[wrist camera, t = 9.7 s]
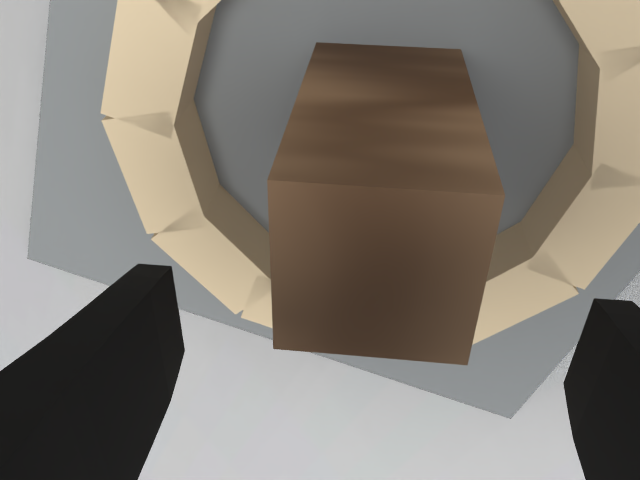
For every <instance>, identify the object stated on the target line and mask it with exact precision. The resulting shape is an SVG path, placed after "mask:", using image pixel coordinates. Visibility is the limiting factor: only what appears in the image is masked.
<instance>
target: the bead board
mask: <svg viewBox="0 0 640 480" xmlns="http://www.w3.org/2000/svg"><path fill="white" fill-rule="evenodd" d="M316 42H320V43H341V44H362V45H383V46H404V47H425V48H446V49H461V51H462V54H463V57H464V61H465V64H466V67H467V71H468V74H469V77H470V80H471V84H472V87H473V90H474V94H475V97H476V100H477V104H478V107H479V110H480V114H481V117H482V120H483V123H484V127H485V130H486V133H487V137H488V140H489V143H490V147H491V150H492V153H493V157H494V160H495V163H496V166H497V170H498V173H499V176H500V180H501V183H502V186H503V190H504V193H505V199H504V204H503V208H502V213H501V217H500V222H499V226H498V231H497V235H496V240H495V244H494V249H493V253H492V258H491V262H490V267H489V271H488V276H487V280H486V285H485V289H484V294H483V298H482V303H481V307H480V312H479V316H478V321H477V325H476V330H475V334H474V339H473V343H472V348H471V352H470V357H469V361H468V365H457V364H445V363H433V362H422V361H410V360H398V359H387V358H375V357H363V356H351V355H340V354H328V353H316V352H311V353H314V354H317V355H320V356H323V357H326V358H329V359H332V360H335V361H338V362H341V363H344V364H347V365H350V366H353V367H356V368H359V369H362V370H365V371H368V372H371V373H374V374H377V375H380V376H383V377H386V378H389V379H392V380H395V381H398V382H401V383H404V384H407V385H410V386H413V387H416V388H419V389H422V390H425V391H428V392H431V393H434V394H437V395H440V396H443V397H446V398H449V399H452V400H455V401H458V402H461V403H464V404H467V405H470V406H473V407H476V408H479V409H482V410H485V411H489V412H492V413H495V414H498V415H501V416H504V417H507V418H510V419H511V418H512V417H513V416H514V415H515V413H516V412H517V411H518V410H519V409H520V408H521V406H522V405H523V404H524V403H525V402H526V401H527V400H528V398H529V397H530V396H531V395H532V394H533V393H534V392H535V390H536V389H537V388H538V387H539V386H540V385H541V384H542V382H543V381H544V380H545V379H546V378H547V377H548V376H549V374H550V373H551V372H552V371H553V370H554V369H555V367H556V366H557V365H558V364H559V363H560V362H561V361H562V359H563V358H564V357H565V356H566V355H567V354H568V353H569V351H570V350H571V349H572V348H573V347H574V346H575V345H576V343H577V342H578V341H579V339H580V336H581V333H582V330H583V327H584V325H585V322H586V319H587V316H588V314H589V311H590V308H591V305H592V302H593V300H594V298H598V299H611V300H615V299H616V298H617V296H618V295H619V294H620V293H621V292H622V291H623V289H624V288H625V287H626V286H627V285H628V284H629V283H630V281H631V280H632V279H633V278H634V277H635V276H636V275H637V273H638V272H639V271H640V0H50V5H49V17H48V28H47V40H46V51H45V62H44V74H43V85H42V97H41V108H40V120H39V131H38V142H37V154H36V165H35V177H34V188H33V200H32V211H31V222H30V234H29V245H28V257H27V259H30V260H33V261H36V262H39V263H42V264H45V265H48V266H51V267H54V268H57V269H60V270H63V271H66V272H69V273H73V274H76V275H79V276H82V277H85V278H88V279H91V280H94V281H97V282H100V283H103V284H106V285H109V286H111V285H112V284H113V283H114V282H116V281H117V280H118V279H119V278H121V277H122V276H123V275H124V274H125V273H127V272H128V271H129V270H130V269H132V268H133V267H134V266H136V265H137V264H151V265H164V266H172V271H173V277H174V284H175V290H176V297H177V303H178V309H181V310H184V311H187V312H190V313H193V314H196V315H199V316H202V317H205V318H208V319H211V320H214V321H217V322H220V323H223V324H226V325H229V326H232V327H235V328H238V329H241V330H244V331H247V332H250V333H253V334H256V335H259V336H262V337H265V338H268V339H271V340H273V327H272V299H271V272H270V244H269V217H268V189H267V179H268V176H269V174H270V171H271V168H272V165H273V162H274V160H275V157H276V154H277V151H278V148H279V146H280V143H281V140H282V137H283V134H284V132H285V129H286V126H287V123H288V120H289V118H290V115H291V112H292V109H293V106H294V104H295V101H296V98H297V95H298V92H299V89H300V87H301V84H302V81H303V78H304V75H305V73H306V70H307V67H308V64H309V61H310V59H311V56H312V53H313V50H314V47H315V45H316Z"/></svg>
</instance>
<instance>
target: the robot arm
mask: <svg viewBox="0 0 640 480" xmlns="http://www.w3.org/2000/svg"><path fill="white" fill-rule="evenodd" d="M184 351H185V349H184V342H183V336H182V329H181V323H180V316H179V310H178V303H177V297H176V290H175V284H174V277H173V271H172V266H164V265H151V264H137V265H136V266H134V267H133V268H132V269H130V270H129V271H128V272H127V273H125V274H124V275H123V276H122V277H121V278H119V279H118V280H117V281H116V282H114V283H113V284H112V285H111V286H110V287H108V288H107V289H106V290H105V291H104V292H102V293H101V294H100V295H99V296H98V297H96V298H95V299H94V300H93V301H92V302H90V303H89V304H88V305H87V306H85V307H84V308H83V309H82V310H80V311H79V312H78V313H77V314H75V315H74V316H73V317H72V318H70V319H69V320H68V321H67V322H65V323H64V324H63V325H62V326H60V327H59V328H58V329H57V330H55V331H54V332H53V333H52V334H50V335H49V336H48V337H46V338H45V339H44V340H42V341H41V342H40V343H38V344H37V345H36V346H34V347H33V348H31V349H30V350H29V351H27V352H26V353H25V354H23V355H22V356H20V357H19V358H18V359H16V360H15V361H14V362H12V363H11V364H9V365H8V366H7V367H5V368H4V369H3V370H1V371H0V480H138V477H139V475H140V473H141V470H142V468H143V466H144V463H145V461H146V459H147V456H148V454H149V452H150V449H151V447H152V445H153V442H154V440H155V437H156V435H157V433H158V430H159V428H160V426H161V423H162V421H163V418H164V416H165V414H166V411H167V409H168V406H169V404H170V401H171V398H172V394H173V391H174V388H175V384H176V381H177V377H178V374H179V370H180V366H181V362H182V359H183V355H184ZM564 389H565V395H566V402H567V408H568V414H569V419H570V425H571V430H572V435H573V440H574V443H575V447H576V450H577V453H578V456H579V460H580V463H581V466H582V469H583V473H584V476H585V479H586V480H640V308H639V307H638V306H637V305H636V304H635V303H634V302H632V301H625V300H611V299H598V298H594V300H593V302H592V305H591V308H590V311H589V314H588V316H587V319H586V322H585V325H584V327H583V330H582V333H581V336H580V339H579V341H578V344H577V347H576V350H575V353H574V355H573V358H572V361H571V364H570V367H569V369H568V372H567V375H566V378H565V381H564Z"/></svg>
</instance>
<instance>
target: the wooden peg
mask: <svg viewBox="0 0 640 480" xmlns="http://www.w3.org/2000/svg"><path fill="white" fill-rule="evenodd" d="M267 189H268V217H269V244H270V272H271V299H272V327H273V349H281V350H293V351H305V352H316V353H328V354H340V355H351V356H363V357H375V358H387V359H398V360H410V361H422V362H433V363H445V364H457V365H468V361H469V357H470V352H471V348H472V343H473V339H474V334H475V330H476V325H477V321H478V316H479V312H480V307H481V303H482V298H483V294H484V289H485V285H486V280H487V276H488V271H489V267H490V262H491V258H492V253H493V249H494V244H495V240H496V235H497V231H498V226H499V222H500V217H501V213H502V208H503V204H504V199H505V193H504V190H503V186H502V183H501V180H500V176H499V173H498V170H497V166H496V163H495V160H494V157H493V153H492V150H491V147H490V143H489V140H488V137H487V133H486V130H485V127H484V123H483V120H482V117H481V114H480V110H479V107H478V104H477V100H476V97H475V94H474V90H473V87H472V84H471V80H470V77H469V74H468V71H467V67H466V64H465V61H464V57H463V54H462V51H461V49H446V48H425V47H404V46H383V45H362V44H341V43H320V42H316V45H315V47H314V50H313V53H312V56H311V59H310V61H309V64H308V67H307V70H306V73H305V75H304V78H303V81H302V84H301V87H300V89H299V92H298V95H297V98H296V101H295V104H294V106H293V109H292V112H291V115H290V118H289V120H288V123H287V126H286V129H285V132H284V134H283V137H282V140H281V143H280V146H279V148H278V151H277V154H276V157H275V160H274V162H273V165H272V168H271V171H270V174H269V176H268V179H267Z"/></svg>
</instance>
